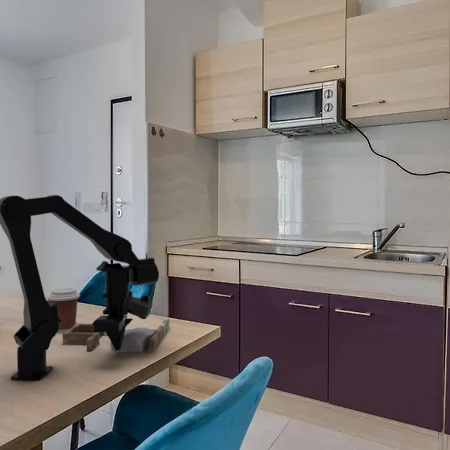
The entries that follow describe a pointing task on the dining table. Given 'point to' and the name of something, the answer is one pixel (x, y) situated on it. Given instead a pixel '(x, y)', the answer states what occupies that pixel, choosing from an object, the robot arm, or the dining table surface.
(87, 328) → the channel
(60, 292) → the coffee cup
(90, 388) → the dining table surface
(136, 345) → the stone block
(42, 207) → the robot arm
